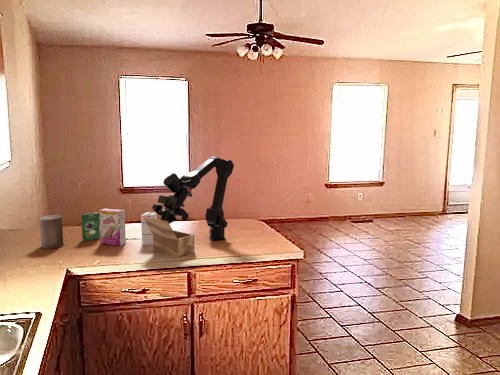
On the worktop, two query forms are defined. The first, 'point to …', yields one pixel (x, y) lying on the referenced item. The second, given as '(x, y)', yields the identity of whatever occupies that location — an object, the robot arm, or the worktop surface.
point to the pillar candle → (51, 231)
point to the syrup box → (147, 229)
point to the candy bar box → (112, 227)
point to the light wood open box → (174, 244)
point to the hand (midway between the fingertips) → (160, 228)
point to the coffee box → (90, 226)
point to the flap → (160, 227)
